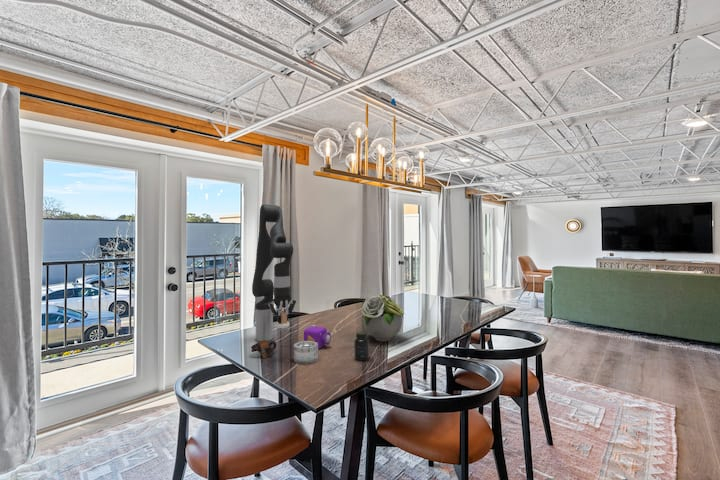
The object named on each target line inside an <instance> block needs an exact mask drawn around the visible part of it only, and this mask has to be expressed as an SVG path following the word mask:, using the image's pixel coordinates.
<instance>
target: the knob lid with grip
mask: <svg viewBox="0 0 720 480" xmlns="http://www.w3.org/2000/svg"><path fill="white" fill-rule="evenodd" d="M274 327H275V328H276V329H287V328H290V321H289V320H288V321H287V313H286V312H284V310H281V323H280V324H279V323H278V322H277V321H276V322H275V325H274Z"/></svg>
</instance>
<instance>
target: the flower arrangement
mask: <svg viewBox="0 0 720 480" xmlns="http://www.w3.org/2000/svg"><path fill="white" fill-rule="evenodd" d="M403 311H404V310H403V308H401V307H400V306H399V305H398V304H397V303H396V300H395V298H392V297H390V296H387V295H382V294H380V295H372V296H369V297H367V298H366V299H365V300H364V303H363V304H362V307H361V308H360V312H361V314H362V315H363V320H362V321H363V327H364V330H365V332H366V333H367V334H369V335H370V336H372V337H374V339H375V341H377V342H378V341H379V342H388V341H390V340H391V339H392V338H393V337H394V336H396V335H397V334H399V332H401V328H402V325H403V319H404V315H405V312H403Z"/></svg>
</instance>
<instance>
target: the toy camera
mask: <svg viewBox="0 0 720 480" xmlns="http://www.w3.org/2000/svg"><path fill="white" fill-rule="evenodd" d="M304 341H314V342H317V343H318V350H319V349H321V348H322V347H324V346H329V344H330V343H331V341H332V336H331V332H327V328H326V327H324V326H316V325H314V324H312V325H311V326H310V327H309V326H308V328H305V329H304V331H303V342H304Z"/></svg>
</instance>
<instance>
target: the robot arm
mask: <svg viewBox="0 0 720 480" xmlns="http://www.w3.org/2000/svg"><path fill="white" fill-rule="evenodd" d="M267 223H274V224H273V225H272V227H271V228H270V231H268V228H267ZM286 236H287V235H286V233H285V229H284V219H283V210H282V208H281V206H279V205H275V204H274V205H272V204H265V203H264V204H261V206H260V209H259V219H258V238H257V243H256V244H257V247H256V256H255V257H256V258H255V266H254V267H255V269H254V274H253V280H252V285H251V291H252V292H251V293H252V295H253V296H254V297H255V298H261V297H263V298H262V299H261V300H260V301H258V302H256V303H255V305H254V306H255V340H256V341H257V342H261V341H263V340H266V342H268V341H269V342H270V341H271V340H272V341H273V339H274V315H275V316H276V322H278V323H279V324H280V323H281V311H284V312H286V313H287V321H288V322H289V314H290V313H292V312H293V310H294V307H295V305H296V303H297V300H295V299H292V297H291V276H290V275H291V272H290V271H291V270H290V267H291V262H292V258H293V254H294V247H293V244H291V243H290V242H287V237H286ZM274 259H283V261H282V262H278V263H275V264H274V265H273V266H274V267H273V268H274V269H273V274H274V275H273V280H272V279H270V278H268V279H266V278H265V279H263V277H264V274H265V272H266V270H267V269H268V267H269V266H270V265H271V263H272V262H273V260H274ZM275 306H276V307H275Z"/></svg>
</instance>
